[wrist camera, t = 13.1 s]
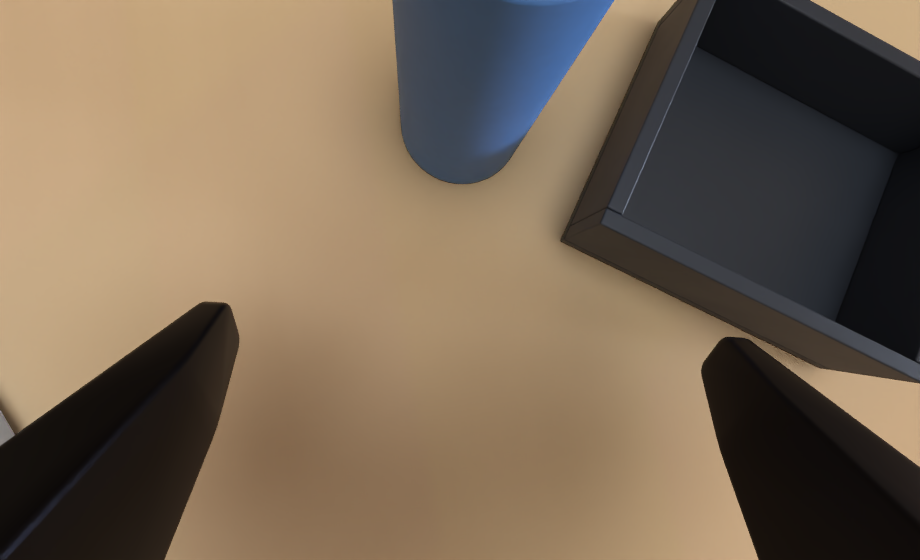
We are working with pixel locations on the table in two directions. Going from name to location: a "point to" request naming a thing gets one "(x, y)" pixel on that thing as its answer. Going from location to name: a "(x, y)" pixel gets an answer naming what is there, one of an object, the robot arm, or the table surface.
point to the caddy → (770, 181)
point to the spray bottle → (481, 75)
